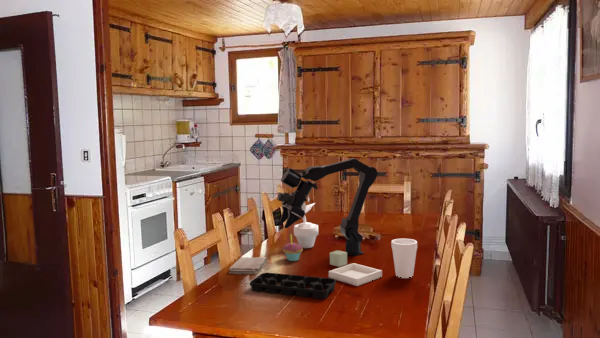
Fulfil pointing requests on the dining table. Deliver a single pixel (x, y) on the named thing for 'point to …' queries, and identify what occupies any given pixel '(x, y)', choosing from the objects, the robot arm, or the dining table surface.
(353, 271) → the tray
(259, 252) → the dining table surface
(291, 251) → the cupcake
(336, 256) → the cube
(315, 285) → the egg carton
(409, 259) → the foam cup
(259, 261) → the washcloth
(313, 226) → the potted plant
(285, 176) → the robot arm
